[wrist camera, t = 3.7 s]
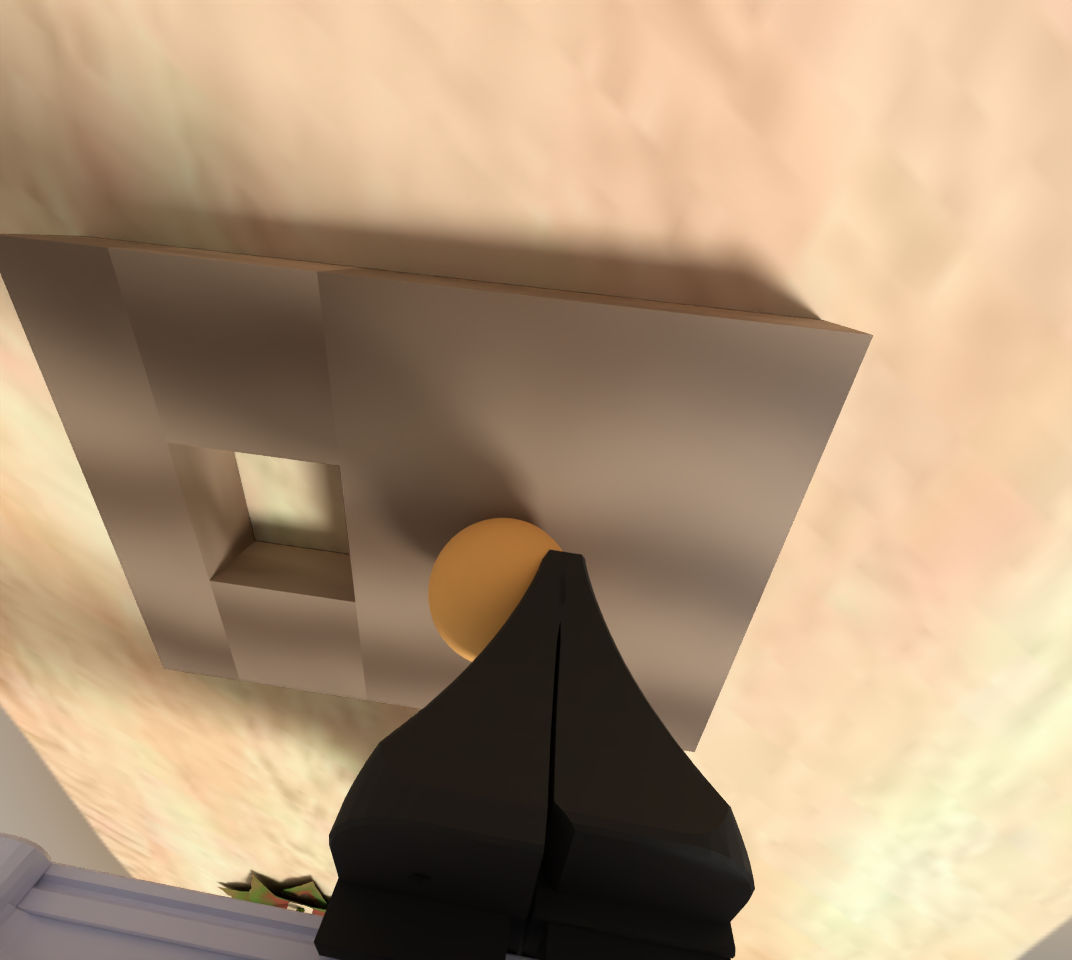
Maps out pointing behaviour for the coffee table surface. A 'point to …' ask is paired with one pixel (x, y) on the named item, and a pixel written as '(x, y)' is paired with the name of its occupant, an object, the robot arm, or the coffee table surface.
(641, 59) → the coffee table surface
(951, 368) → the coffee table surface
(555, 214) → the coffee table surface
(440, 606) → the ball
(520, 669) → the robot arm
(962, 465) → the coffee table surface
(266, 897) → the lily flower
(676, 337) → the plate
